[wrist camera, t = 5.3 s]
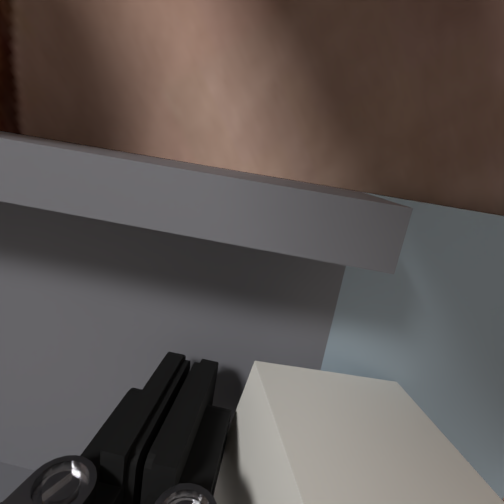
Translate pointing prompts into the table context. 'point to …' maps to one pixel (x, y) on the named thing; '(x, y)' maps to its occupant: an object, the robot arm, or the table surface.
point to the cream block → (338, 445)
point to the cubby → (232, 293)
